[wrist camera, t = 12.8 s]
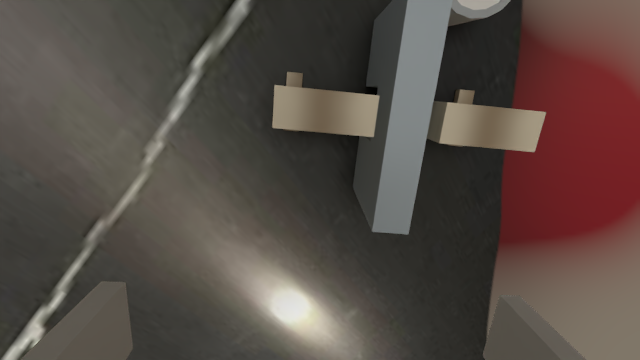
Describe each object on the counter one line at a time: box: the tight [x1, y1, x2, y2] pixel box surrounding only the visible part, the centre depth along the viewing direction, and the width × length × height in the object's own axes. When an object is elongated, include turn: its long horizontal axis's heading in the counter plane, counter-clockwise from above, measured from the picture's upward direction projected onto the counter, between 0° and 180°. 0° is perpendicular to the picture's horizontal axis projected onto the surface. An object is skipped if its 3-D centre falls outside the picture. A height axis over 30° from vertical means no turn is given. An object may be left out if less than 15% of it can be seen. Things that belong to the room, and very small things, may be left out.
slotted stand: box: [272, 72, 546, 152], centre depth 28 cm, size 20×6×12 cm, turn 85°
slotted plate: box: [353, 0, 453, 234], centre depth 28 cm, size 18×3×12 cm, turn 175°
